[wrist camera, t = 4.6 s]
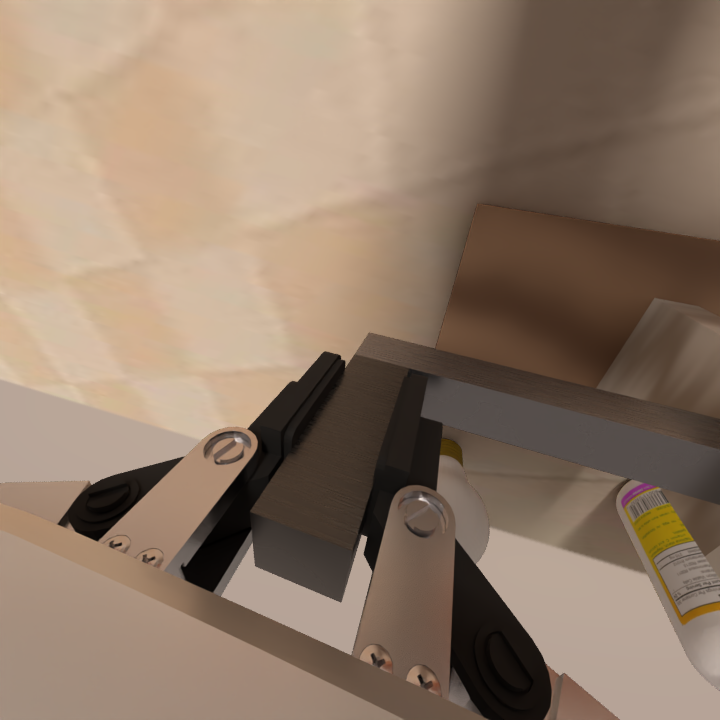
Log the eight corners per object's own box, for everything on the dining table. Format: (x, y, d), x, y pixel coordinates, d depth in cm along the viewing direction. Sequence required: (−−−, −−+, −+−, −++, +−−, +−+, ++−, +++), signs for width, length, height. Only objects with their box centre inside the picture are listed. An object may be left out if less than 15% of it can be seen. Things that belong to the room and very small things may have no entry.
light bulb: (455, 404, 24) (450, 521, 15) (498, 456, 25) (515, 592, 16) (396, 432, 27) (366, 543, 18) (437, 477, 28) (425, 601, 19)
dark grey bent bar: (369, 332, 13) (249, 512, 6) (845, 449, 10) (1844, 1128, 3) (363, 372, 14) (255, 566, 7) (792, 489, 11) (1416, 1056, 4)
